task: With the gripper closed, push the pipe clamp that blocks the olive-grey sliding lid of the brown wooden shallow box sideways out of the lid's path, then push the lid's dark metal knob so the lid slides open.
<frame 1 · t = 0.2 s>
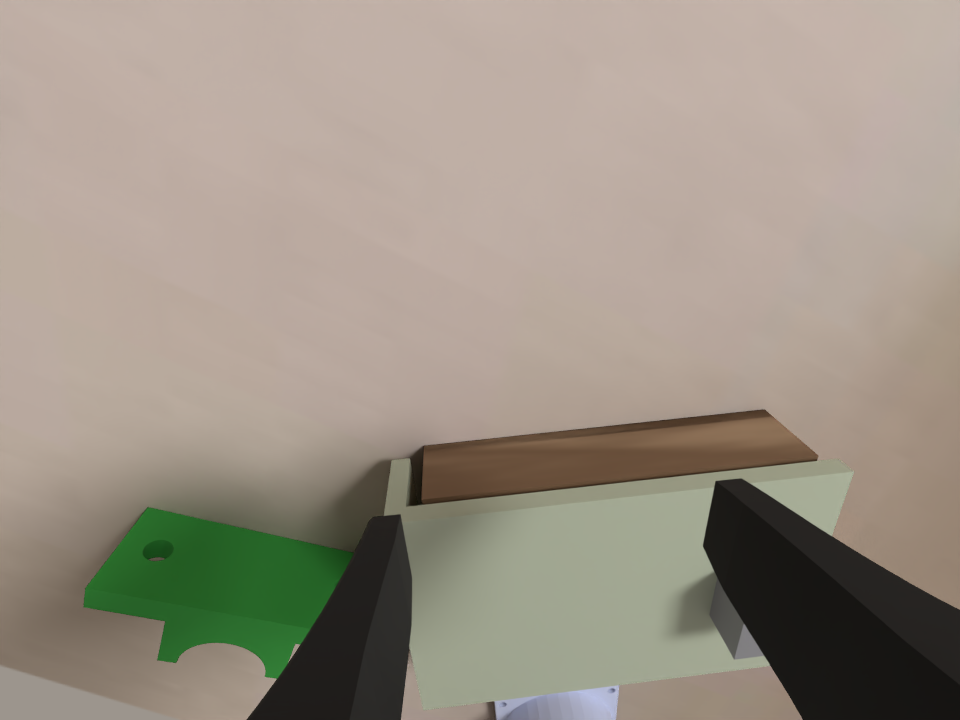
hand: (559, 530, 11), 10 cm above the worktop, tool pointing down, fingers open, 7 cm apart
brown wooden shallow box: (592, 523, 25), on the worktop
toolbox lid: (607, 586, 21), point 4 cm above the worktop, slide at 0.0 cm
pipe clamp: (263, 553, 24), on the worktop
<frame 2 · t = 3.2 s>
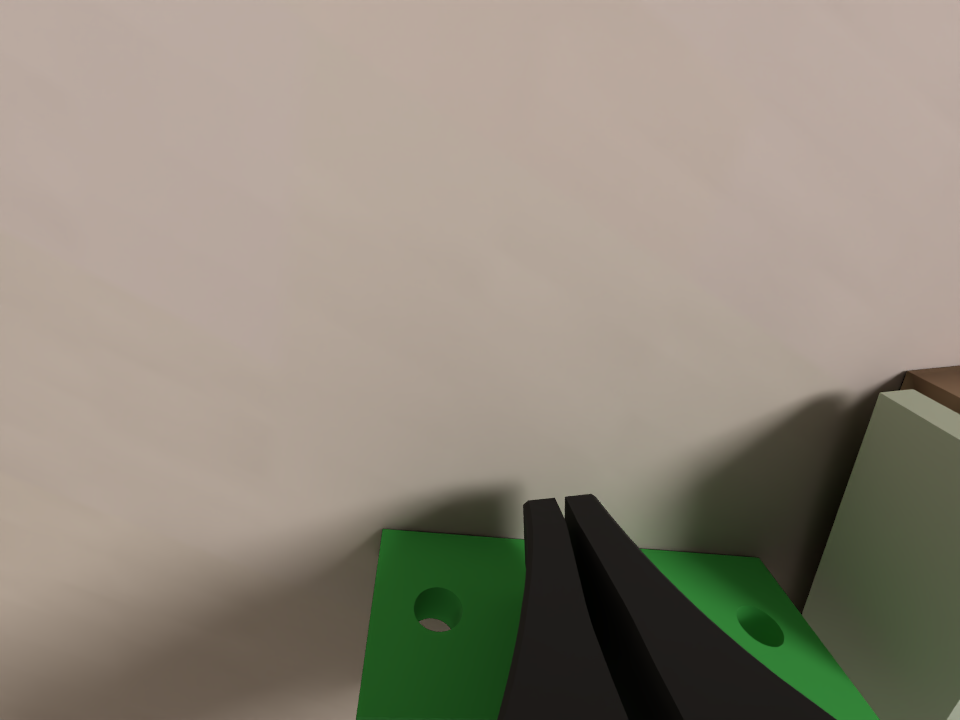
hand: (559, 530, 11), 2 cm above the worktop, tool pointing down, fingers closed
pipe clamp: (561, 580, 14), on the worktop, touching gripper
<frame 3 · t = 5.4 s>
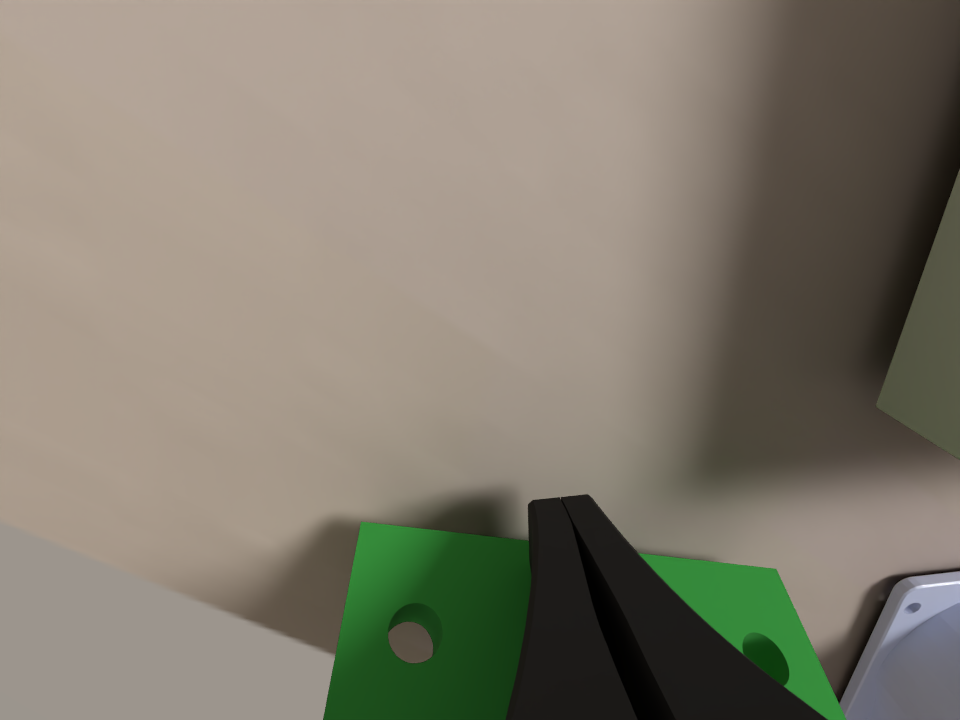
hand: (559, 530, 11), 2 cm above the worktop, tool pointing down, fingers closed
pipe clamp: (556, 568, 13), on the worktop, touching gripper
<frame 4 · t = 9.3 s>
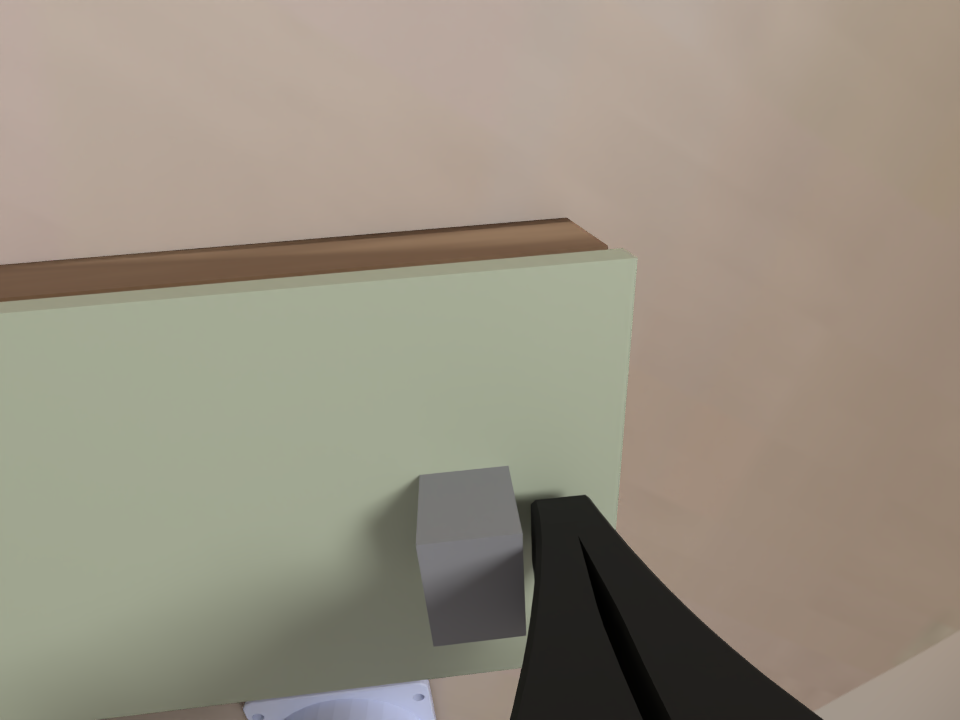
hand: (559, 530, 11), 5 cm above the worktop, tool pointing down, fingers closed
brown wooden shallow box: (318, 429, 15), on the worktop
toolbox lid: (252, 516, 12), point 4 cm above the worktop, slide at 0.4 cm, touching gripper
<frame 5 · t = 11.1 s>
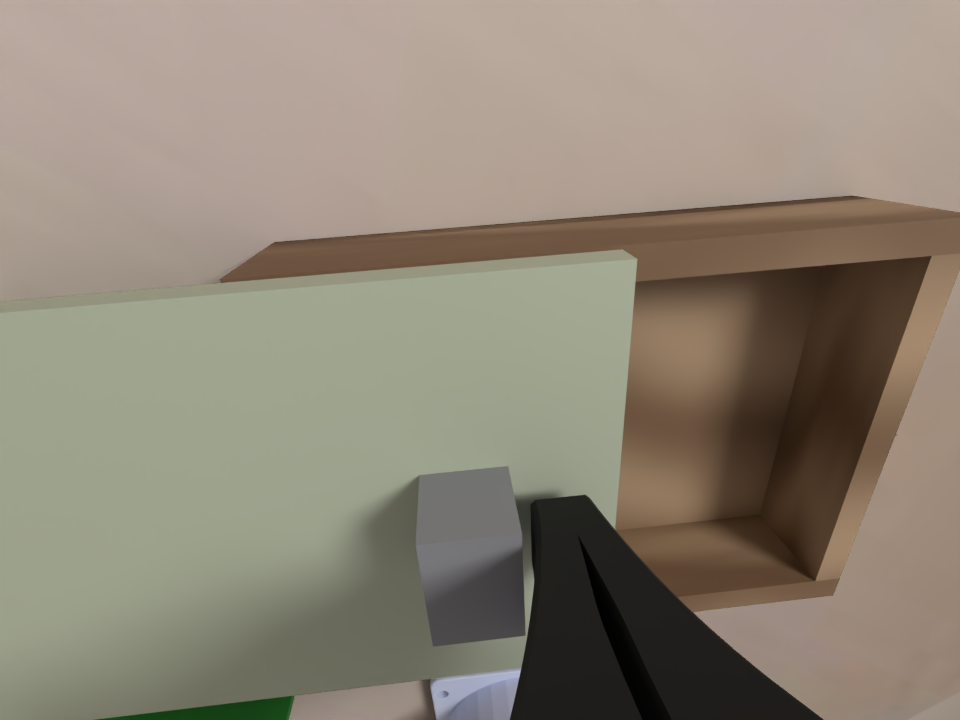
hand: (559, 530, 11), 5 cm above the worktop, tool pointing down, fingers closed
brown wooden shallow box: (567, 405, 16), on the worktop
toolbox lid: (252, 516, 12), point 4 cm above the worktop, slide at 8.5 cm, touching gripper
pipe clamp: (166, 621, 19), on the worktop
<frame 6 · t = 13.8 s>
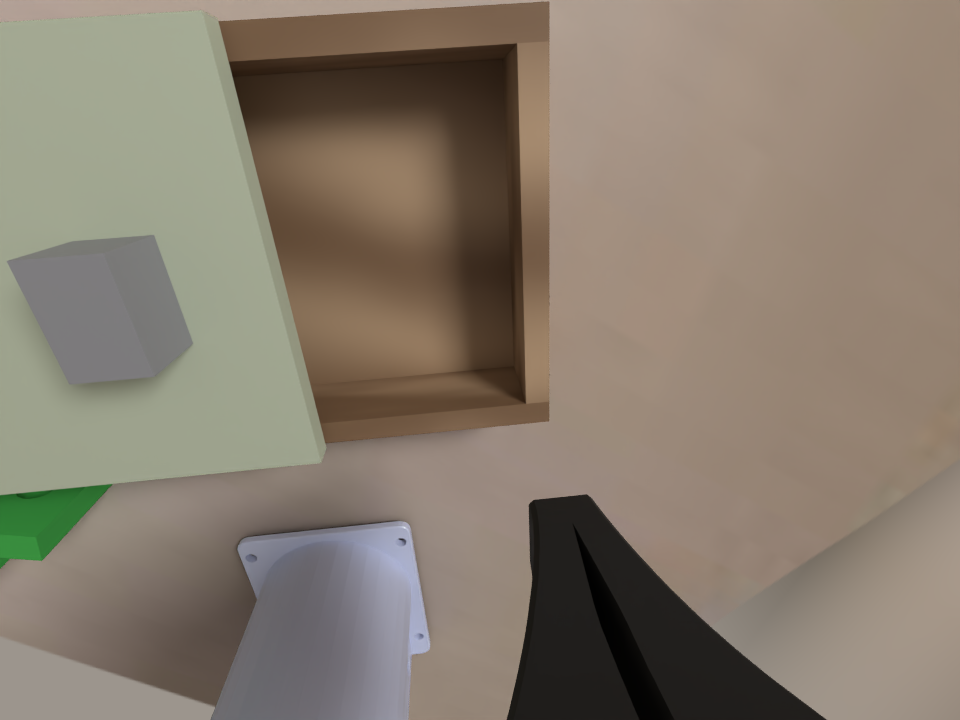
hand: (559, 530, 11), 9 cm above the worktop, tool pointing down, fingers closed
brown wooden shallow box: (305, 246, 17), on the worktop
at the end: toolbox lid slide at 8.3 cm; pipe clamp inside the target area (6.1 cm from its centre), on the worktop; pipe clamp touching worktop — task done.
